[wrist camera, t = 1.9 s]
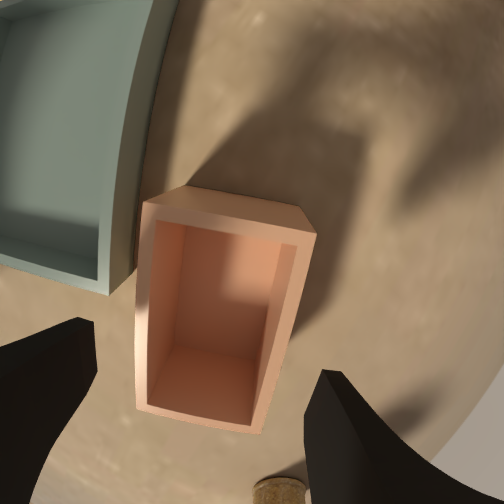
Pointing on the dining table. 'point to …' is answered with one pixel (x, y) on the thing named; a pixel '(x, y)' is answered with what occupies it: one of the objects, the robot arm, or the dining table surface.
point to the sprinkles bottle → (279, 491)
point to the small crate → (216, 304)
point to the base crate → (76, 133)
